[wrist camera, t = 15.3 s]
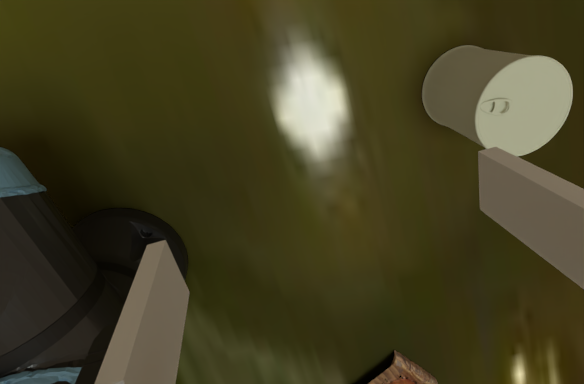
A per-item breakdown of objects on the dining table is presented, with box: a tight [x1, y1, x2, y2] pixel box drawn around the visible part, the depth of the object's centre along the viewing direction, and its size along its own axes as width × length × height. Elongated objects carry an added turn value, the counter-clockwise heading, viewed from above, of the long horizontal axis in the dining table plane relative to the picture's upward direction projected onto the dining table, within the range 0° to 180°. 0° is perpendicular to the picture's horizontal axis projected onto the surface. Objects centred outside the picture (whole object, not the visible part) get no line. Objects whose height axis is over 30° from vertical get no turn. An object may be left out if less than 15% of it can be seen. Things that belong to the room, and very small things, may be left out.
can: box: [422, 45, 573, 156], centre depth 40 cm, size 9×9×12 cm
